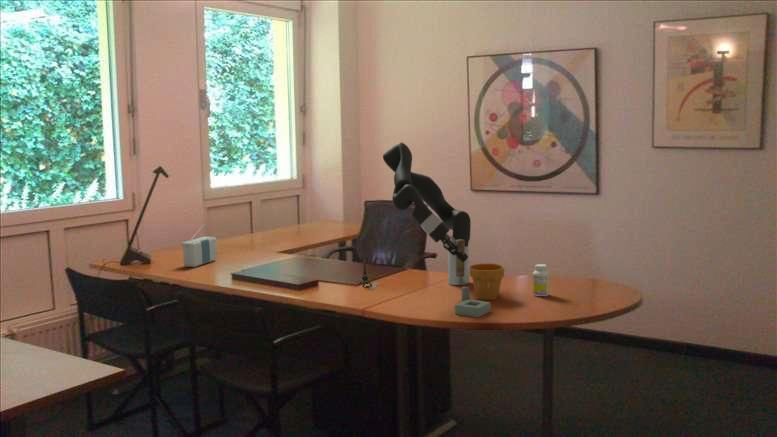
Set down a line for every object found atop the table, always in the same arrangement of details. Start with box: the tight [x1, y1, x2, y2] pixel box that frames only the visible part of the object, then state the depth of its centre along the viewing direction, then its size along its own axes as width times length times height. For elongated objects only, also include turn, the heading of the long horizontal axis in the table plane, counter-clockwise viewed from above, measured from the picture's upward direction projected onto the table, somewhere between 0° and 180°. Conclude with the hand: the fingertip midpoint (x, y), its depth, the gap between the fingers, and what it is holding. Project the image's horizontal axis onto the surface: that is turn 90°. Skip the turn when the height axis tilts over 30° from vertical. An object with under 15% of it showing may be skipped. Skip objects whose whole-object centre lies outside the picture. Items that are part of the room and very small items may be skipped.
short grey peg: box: [461, 286, 471, 302], centre depth 300 cm, size 3×3×7 cm
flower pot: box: [469, 263, 505, 301], centre depth 310 cm, size 14×14×13 cm
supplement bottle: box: [532, 263, 550, 297], centre depth 312 cm, size 7×7×13 cm
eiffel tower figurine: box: [358, 258, 380, 291], centre depth 336 cm, size 15×10×13 cm
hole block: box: [454, 299, 491, 318], centre depth 288 cm, size 10×10×4 cm
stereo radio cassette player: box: [181, 224, 218, 268], centre depth 396 cm, size 21×8×20 cm, turn 158°
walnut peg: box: [456, 239, 465, 277], centre depth 289 cm, size 3×3×14 cm
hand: (465, 259), depth 288 cm, fingers closed on walnut peg, 3 cm apart
